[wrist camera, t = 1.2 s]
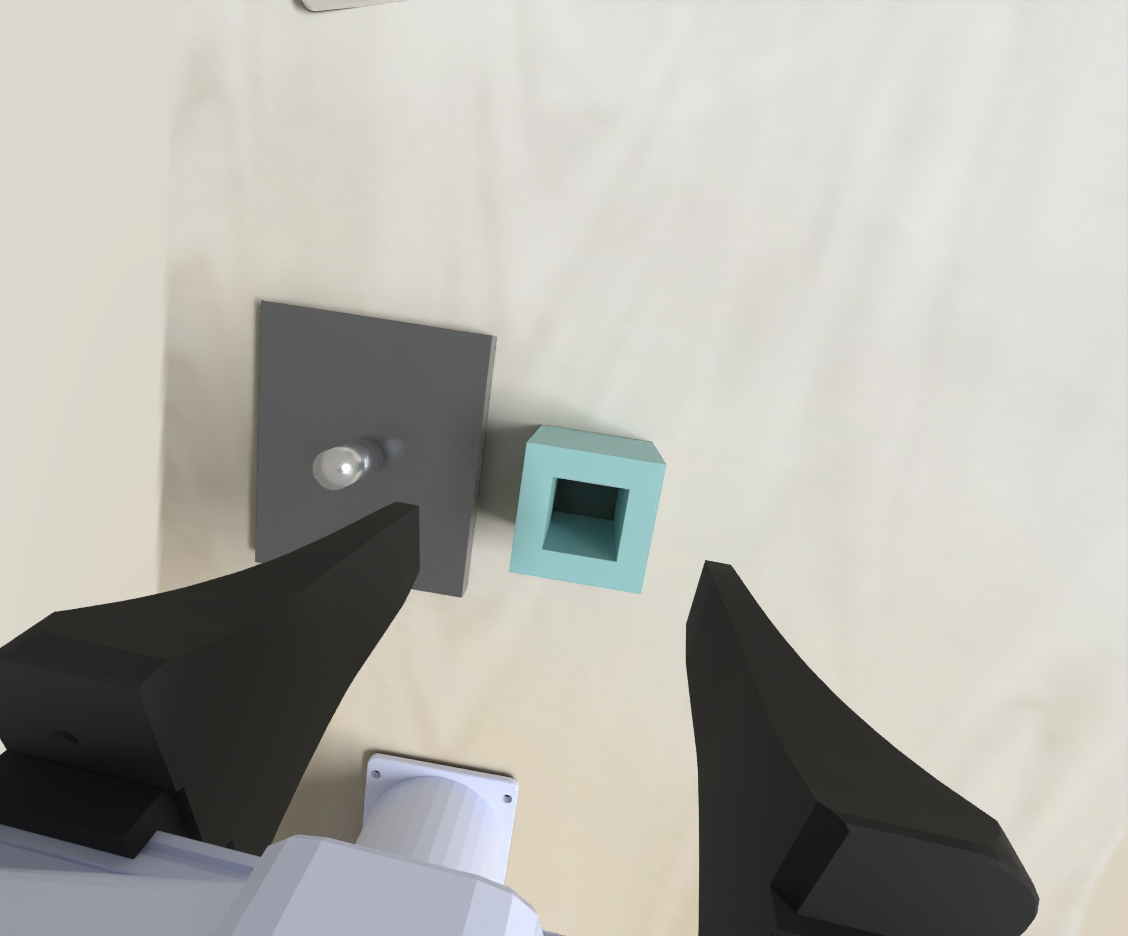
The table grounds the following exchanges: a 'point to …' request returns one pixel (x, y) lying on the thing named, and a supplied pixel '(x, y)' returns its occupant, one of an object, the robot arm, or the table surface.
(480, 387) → the pin plate
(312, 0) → the light switch
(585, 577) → the square hole block
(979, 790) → the table surface
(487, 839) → the robot arm
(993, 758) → the table surface
